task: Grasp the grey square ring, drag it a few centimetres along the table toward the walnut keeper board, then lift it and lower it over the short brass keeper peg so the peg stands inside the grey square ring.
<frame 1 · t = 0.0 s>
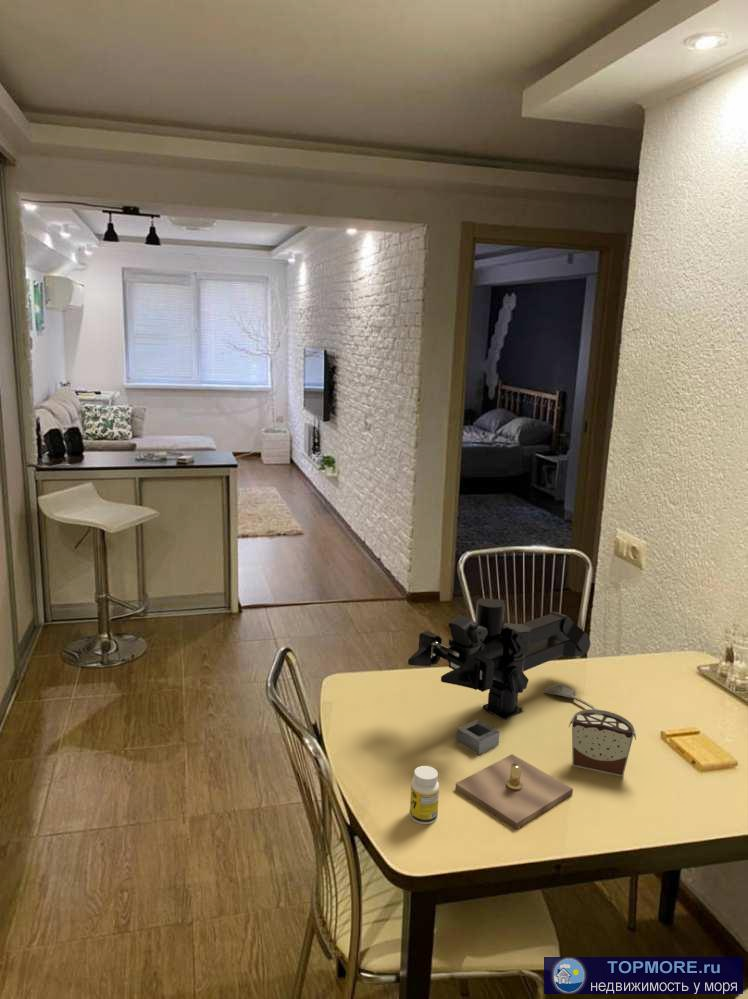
hand: (424, 670, 142), 17 cm above the table, tool horizontal, fingers open, 9 cm apart
supplement bottle: (423, 817, 124), on the table
keeper board: (513, 791, 132), on the table
soupspoon: (582, 710, 164), on the table
grey square ring: (477, 743, 147), on the table
slice of cake: (598, 763, 142), on the table
keeper peg: (515, 776, 131), on the keeper board, point 3 cm above the table
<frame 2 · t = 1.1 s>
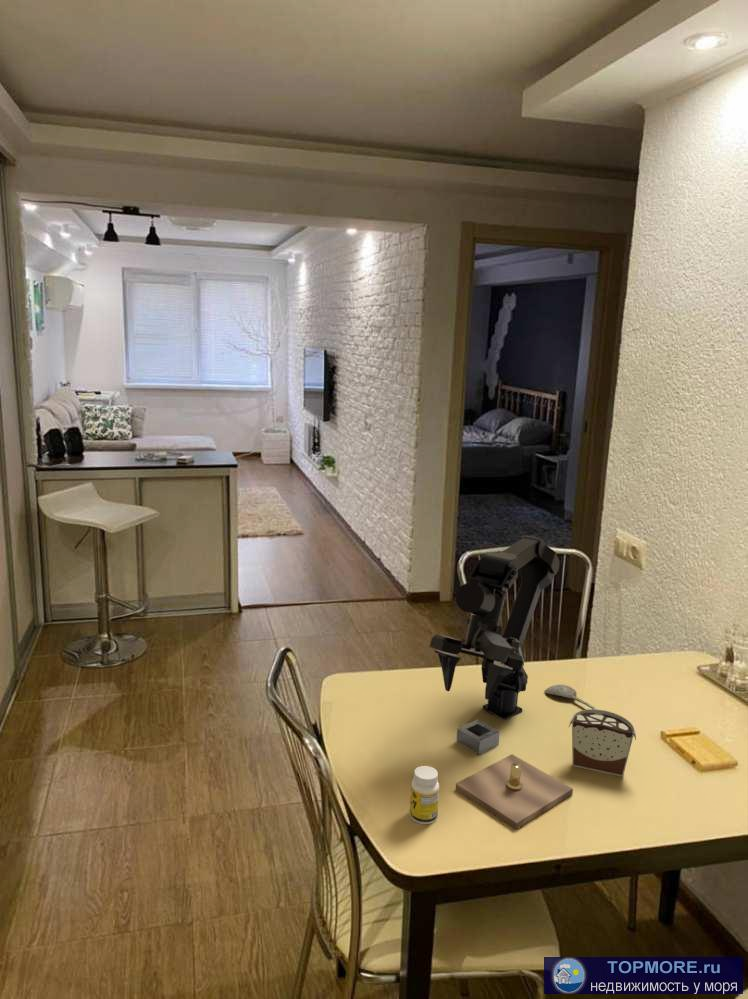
hand: (467, 695, 143), 11 cm above the table, tool tilted 25°, fingers open, 9 cm apart
nothing on the table moved.
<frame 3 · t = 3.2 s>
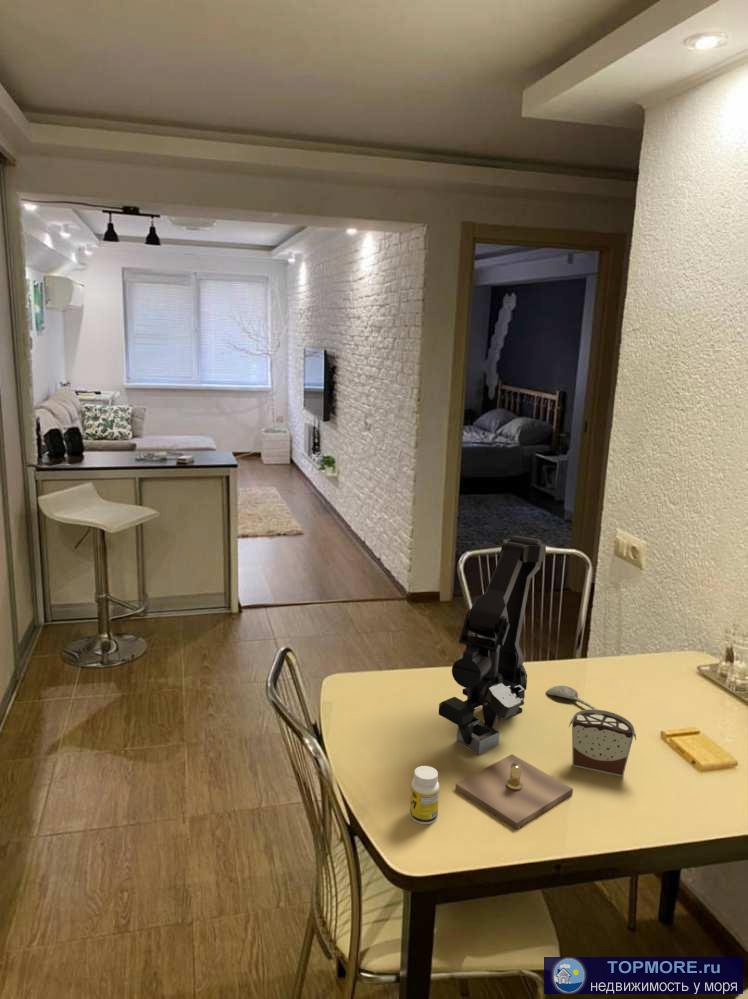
hand: (477, 738, 147), 1 cm above the table, tool pointing down, fingers closed on grey square ring, 6 cm apart
grey square ring: (477, 743, 147), on the table, touching gripper
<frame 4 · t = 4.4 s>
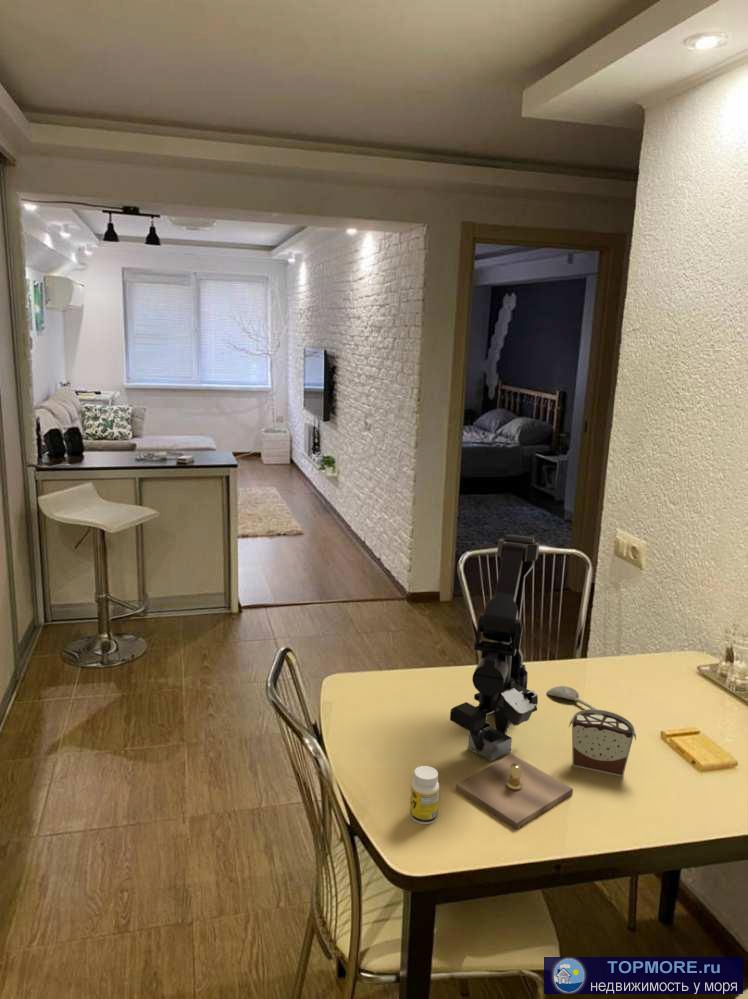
hand: (489, 745, 145), 1 cm above the table, tool pointing down, fingers closed on grey square ring, 6 cm apart
grey square ring: (489, 749, 145), on the table, touching gripper
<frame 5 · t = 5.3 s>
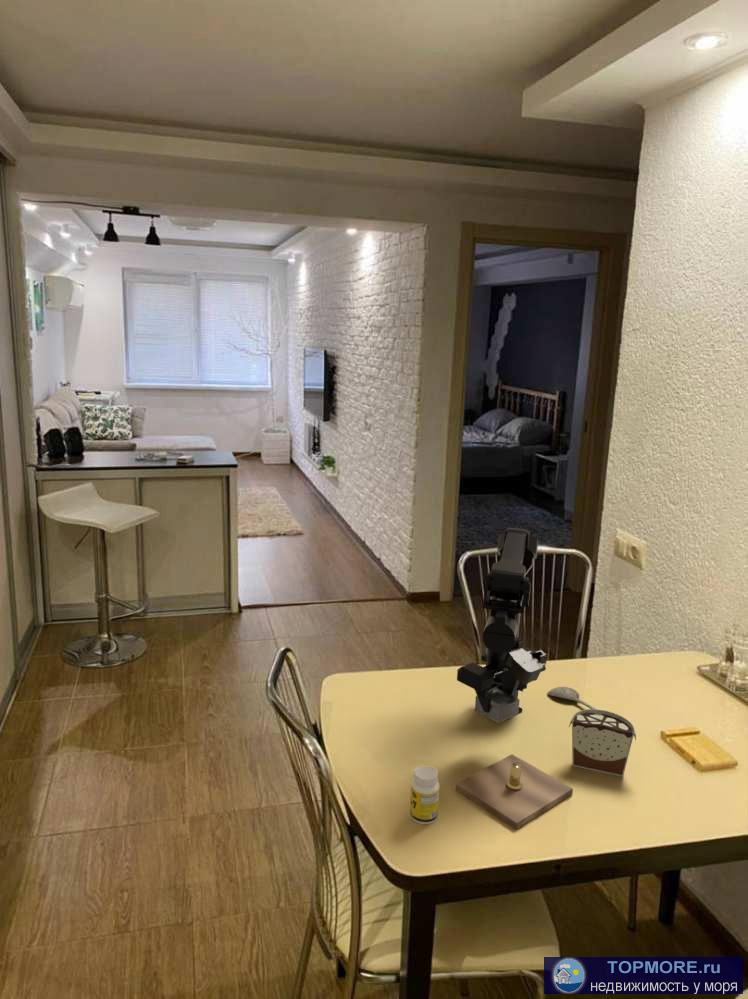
hand: (496, 707, 142), 10 cm above the table, tool pointing down, fingers closed on grey square ring, 6 cm apart
grey square ring: (496, 712, 142), point 9 cm above the table, touching gripper
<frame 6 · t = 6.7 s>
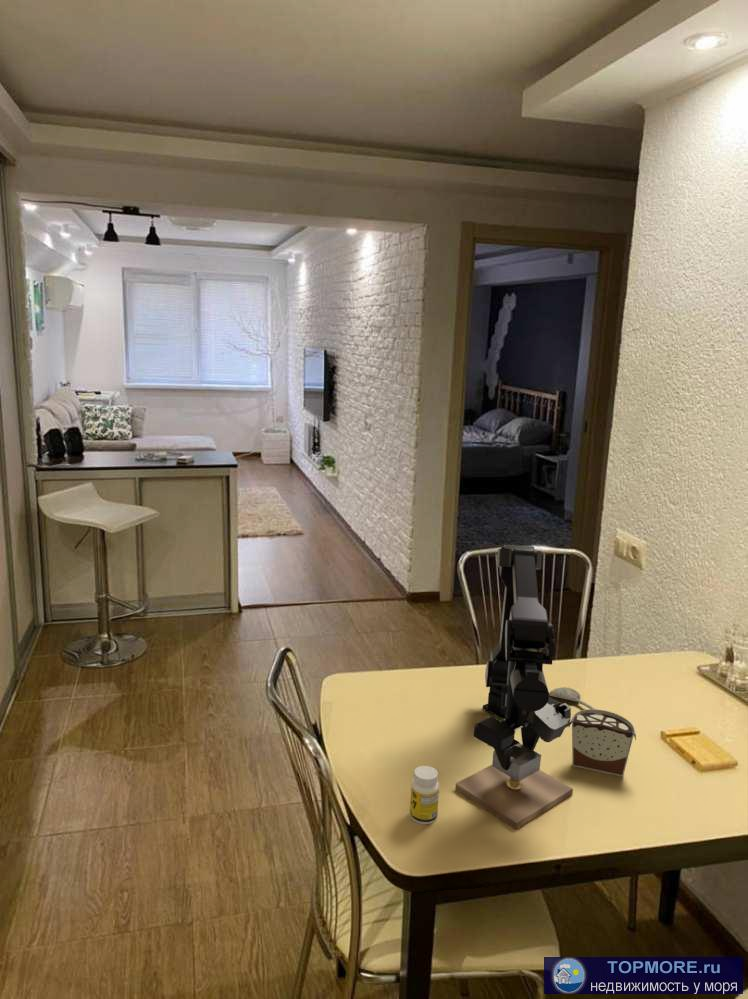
hand: (516, 763, 131), 6 cm above the table, tool pointing down, fingers closed on grey square ring, 6 cm apart
grey square ring: (515, 768, 131), point 5 cm above the table, touching gripper
when the fingers open (4 cm above the table, at t = 7.5 s): grey square ring stays where it is, point 3 cm above the table.
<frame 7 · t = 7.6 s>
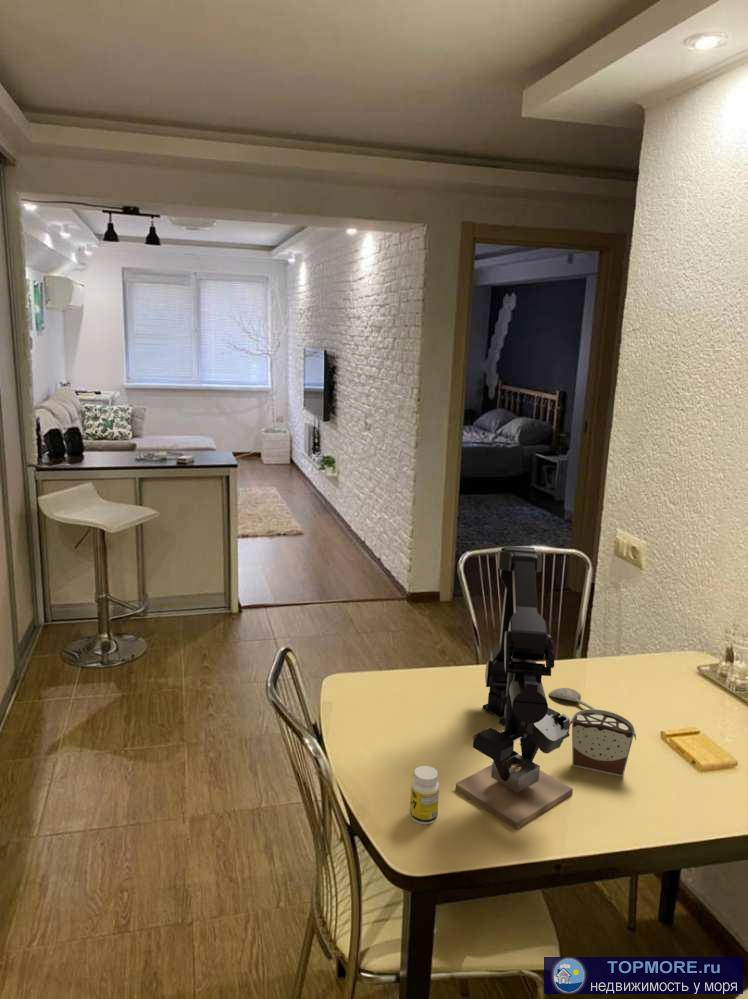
hand: (515, 773, 131), 4 cm above the table, tool pointing down, fingers open, 6 cm apart
grey square ring: (514, 779, 131), point 3 cm above the table
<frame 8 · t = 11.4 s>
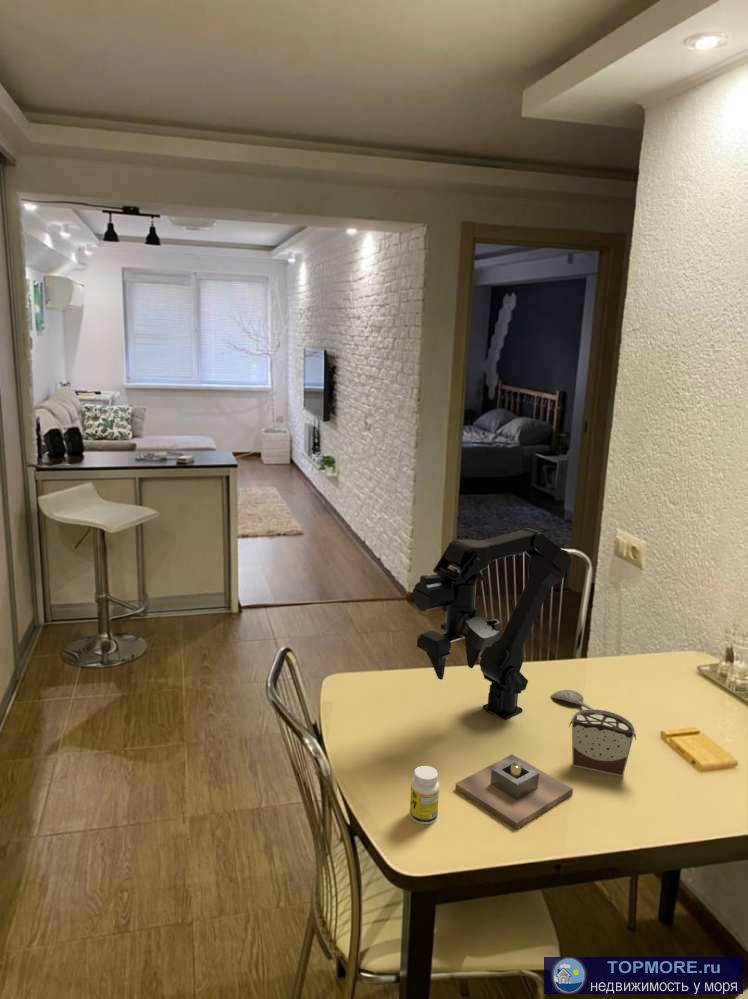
hand: (455, 673, 151), 12 cm above the table, tool pointing down, fingers open, 9 cm apart
soupspoon: (589, 716, 162), on the table
grey square ring: (514, 785, 132), point 1 cm above the table, touching keeper board
everything else where it was.
at the end: grey square ring 0.0 cm off-centre on the keeper peg, point 1.2 cm above the keeper peg's base; the gripper is holding nothing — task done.
